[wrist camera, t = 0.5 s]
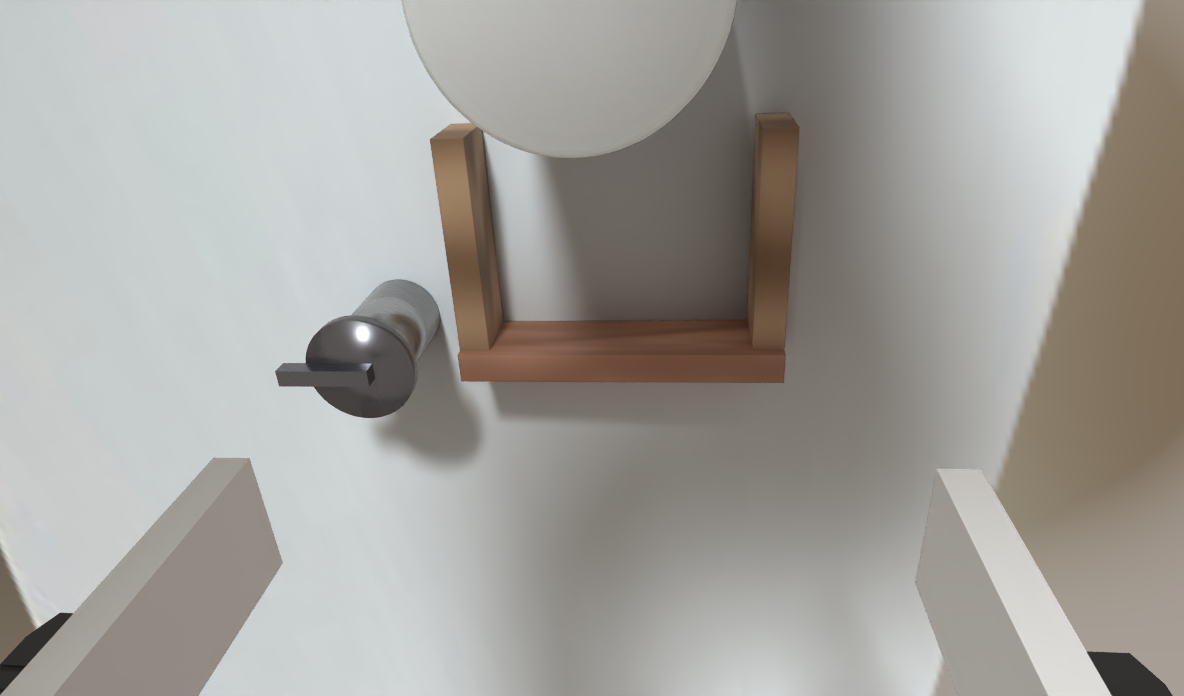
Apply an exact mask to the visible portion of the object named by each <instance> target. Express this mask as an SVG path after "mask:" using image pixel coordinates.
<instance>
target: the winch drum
mask: <svg viewBox="0 0 1184 696" xmlns="http://www.w3.org/2000/svg"><path fill="white" fill-rule="evenodd" d="M439 321H440V315H439V310H438V307H437V304H436V302H435V300H434V299H433V297H432V296H431V295H430V294H429V292H427V291H426V290H425V289H424V288H423V287H421V286H419V285H418V284H416V283H413V282H411V281H407V280H399V279H397V280H390V281H387V282H384V283H382V284H380V285H379V286H378V287H377V288H376V289H375V290H374V291H373V292H372V293H371V294H370V295H369V296H368V297H367V298H366V300H365V301H364V302H363V303H362V304H361V305H360V306H359V307H358V308H357V309H356V310H355V312H354V313H353V314H352V315H351V316H344V317H339V318H337V319H334V320H332V321H330V322H328V323H327V324H326V325H324V326H323V327H322V328H321V329H320V330H319V331H318V332H317V333H316V334H315V335H314V337H313V338H312V340H311V341H310V343H309V345H308V348H307V352H306V363H283V364H282V365H281V366H280V367H279V368H278V369H277V370H276V371H275V372H276V376H277V380H278V383H279V386H314V388H315V389H316V390H317V392H318V393H319V394H320V395H321V396H322V397H323V398H324V399H325V400H326V401H327V402H328V403H329V404H331V405H332V406H334V407H335V408H337V409H339V410H340V411H342V412H345V413H347V414H350V415H353V416H357V417H363V418H377V417H383V416H386V415H389V414H391V413H393V412H395V411H396V410H398V409H399V408H400V407H402V406H403V405H404V404H405V402H406V401H407V400H408V398H409V396H410V395H411V393H412V391H413V390H414V387H415V385H416V381H417V364H416V362H417V361H418V359H419V358H420V356H421V355H422V353H423V351H424V350H425V348H426V347H427V345H428V344H429V342H430V341H431V339H432V338H433V336H434V334H435V333H436V331H437V329H438V326H439Z"/></svg>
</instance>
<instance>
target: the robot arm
mask: <svg viewBox="0 0 1184 696" xmlns="http://www.w3.org/2000/svg"><path fill="white" fill-rule="evenodd" d="M282 563H283V562H282V559H281V556H280V553H279V550H278V546H277V543H276V540H275V537H274V534H273V531H272V528H271V524H270V521H269V518H268V515H267V512H266V509H265V506H264V502H263V499H262V496H261V493H260V490H259V487H258V483H257V480H256V477H255V474H254V471H253V468H252V465H251V461H250V458H213V459H212V460H211V461H210V462H209V463H208V465H207V466H206V467H205V468H204V469H203V470H202V471H201V472H200V473H199V475H198V476H197V477H196V478H195V479H194V480H193V481H192V482H191V483H190V485H189V486H188V487H187V488H186V489H185V490H184V491H183V492H182V493H181V495H180V496H179V497H178V498H177V499H176V500H175V501H174V502H173V503H172V505H171V506H170V507H169V508H168V509H167V510H166V511H165V512H164V513H163V515H162V516H161V517H160V518H159V519H158V520H157V521H156V522H155V523H154V525H153V526H152V527H151V528H150V529H149V530H148V531H147V532H146V533H145V535H144V536H143V537H142V538H141V539H140V540H139V541H138V542H137V543H136V545H135V546H134V547H133V548H132V549H131V550H130V551H129V552H128V553H127V555H126V556H125V557H124V558H123V559H122V560H121V561H120V562H119V563H118V565H117V566H116V567H115V568H114V569H113V570H112V571H111V572H110V573H109V575H108V576H107V577H106V578H105V579H104V580H103V581H102V582H101V583H100V585H99V586H98V587H97V588H96V589H95V590H94V591H93V592H92V593H91V595H90V596H89V597H88V598H87V599H86V600H85V601H84V602H83V603H82V605H81V606H80V607H79V608H78V609H77V610H76V611H75V612H74V613H59V614H58V615H56V616H55V617H54V618H52V619H51V620H49V621H48V622H46V623H45V624H44V625H42V626H41V627H39V628H38V629H36V630H35V631H34V632H32V633H31V634H29V635H28V636H27V637H25V639H24V640H23V641H22V642H21V643H20V644H19V645H18V646H17V647H16V648H15V649H14V650H13V651H12V652H11V653H10V654H9V656H8V657H7V658H6V659H5V660H4V661H3V662H2V663H1V664H0V696H198V695H199V694H200V692H201V691H202V689H203V687H204V686H205V684H206V683H207V681H208V680H209V678H210V676H211V675H212V673H213V672H214V670H215V669H216V667H217V665H218V664H219V662H220V661H221V659H222V658H223V656H224V654H225V653H226V651H227V650H228V648H229V647H230V645H231V643H232V642H233V640H234V639H235V637H236V636H237V634H238V632H239V631H240V629H241V628H242V626H243V625H244V623H245V621H246V620H247V618H248V617H249V615H250V614H251V612H252V610H253V609H254V607H255V606H256V604H257V603H258V601H259V599H260V598H261V596H262V595H263V593H264V592H265V590H266V588H267V587H268V585H269V584H270V582H271V581H272V579H273V577H274V576H275V574H276V573H277V571H278V570H279V568H280V566H281V565H282ZM915 583H916V586H917V588H918V591H919V594H920V596H921V599H922V602H923V604H924V607H925V610H926V613H927V615H928V618H929V621H930V623H931V626H932V629H933V631H934V634H935V637H936V640H937V642H938V645H939V648H940V650H941V653H942V656H943V658H944V661H945V664H946V667H947V669H948V672H949V674H950V677H951V680H952V683H953V685H954V688H955V691H956V694H957V696H1172V694H1171V693H1170V691H1169V690H1168V688H1167V687H1166V685H1165V684H1164V683H1163V682H1162V681H1161V680H1159V679H1158V678H1157V677H1156V676H1155V675H1154V674H1153V673H1152V672H1150V671H1149V670H1148V669H1147V668H1146V667H1145V666H1144V665H1142V664H1141V663H1140V662H1139V661H1138V660H1137V659H1136V658H1134V657H1133V656H1132V655H1131V654H1130V653H1110V652H1086V650H1085V648H1084V647H1083V645H1082V643H1081V641H1080V640H1079V638H1078V636H1077V635H1076V633H1075V631H1074V629H1073V628H1072V626H1071V624H1070V623H1069V621H1068V619H1067V617H1066V615H1065V614H1064V612H1063V610H1062V609H1061V607H1060V605H1059V603H1058V601H1057V600H1056V598H1055V596H1054V595H1053V593H1052V591H1051V589H1050V588H1049V586H1048V584H1047V583H1046V581H1045V579H1044V577H1043V576H1042V574H1041V572H1040V570H1039V568H1038V567H1037V565H1036V563H1035V562H1034V560H1033V558H1032V556H1031V555H1030V553H1029V551H1028V549H1027V548H1026V546H1025V544H1024V542H1023V541H1022V539H1021V537H1020V535H1019V534H1018V532H1017V530H1016V529H1015V527H1014V525H1013V523H1012V522H1011V520H1010V518H1009V516H1008V515H1007V513H1006V511H1005V509H1004V508H1003V506H1002V504H1001V502H1000V501H999V499H998V497H997V496H996V494H995V492H994V490H993V488H992V487H991V485H990V483H989V482H988V480H987V478H986V476H985V475H984V473H983V471H982V469H942V468H937V470H936V475H935V480H934V485H933V491H932V496H931V501H930V507H929V512H928V517H927V523H926V528H925V533H924V539H923V544H922V549H921V555H920V560H919V565H918V571H917V576H916V581H915Z"/></svg>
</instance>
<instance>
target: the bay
mask: <svg viewBox="0 0 1184 696" xmlns="http://www.w3.org/2000/svg"><path fill="white" fill-rule="evenodd" d="M798 142H799V126H798V125H797V123H796V122H795V121H794V119H793V118H792V116H791V115H790V114H789V113H765V114H756V118H755V141H754V164H753V187H752V211H751V234H750V257H749V280H748V304H747V320H678V321H503V314H502V305H501V297H500V288H499V279H498V270H497V261H496V252H495V243H494V234H493V226H492V217H491V208H490V199H489V190H488V181H487V172H486V163H485V155H484V146H483V137H482V130H481V129H480V128H478V127H477V126H475V125H474V124H473V123H472V124H450V125H449V126H448V127H446V128H445V129H443V130H442V131H441V132H439V133H438V134H437V135H435V136H434V137H432V138H431V139H430V143H431V150H432V157H433V164H434V171H435V178H436V185H437V192H438V199H439V206H440V213H441V220H442V227H443V234H444V241H445V248H446V255H447V262H448V269H449V276H450V283H451V290H452V297H453V304H454V311H455V318H456V325H457V332H458V339H459V346H460V352H459V354H458V361H459V368H460V375H461V381H489V382H733V383H784V370H785V356H786V355H785V351H784V347H785V332H786V318H787V303H788V288H789V274H790V259H791V244H792V230H793V215H794V200H795V186H796V171H797V157H798Z"/></svg>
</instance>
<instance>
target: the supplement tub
mask: <svg viewBox="0 0 1184 696" xmlns="http://www.w3.org/2000/svg"><path fill="white" fill-rule="evenodd" d="M736 3H737V0H402V6H403V12H404V15H405V19H406V22H407V26H408V29H409V33H410V36H411V38H412V41H413V44H414V46H415V48H416V50H417V53H418V55H419V57H420V59H421V61H422V63H423V65H424V67H425V68H426V70H427V72H428V74H429V75H430V77H431V79H432V80H433V81H434V83H435V84H436V86H437V87H438V89H439V90H440V91H441V93H442V94H443V95H444V96H445V97H446V99H447V100H448V101H449V102H450V103H451V104H452V105H453V106H454V107H455V108H456V109H457V110H458V111H459V112H460V113H461V114H462V115H463V116H464V117H465V118H467V119H468V120H469V121H470V122H471V123H473V124H474V125H475V126H477V127H478V128H480V129H481V130H482V131H484V132H485V133H487V134H488V135H490V136H492V137H494V138H495V139H497V140H499V141H501V142H503V143H505V144H507V145H510V146H512V147H514V148H517V149H520V150H523V151H526V152H530V153H534V154H538V155H543V156H549V157H556V158H583V157H591V156H599V155H603V154H607V153H610V152H614V151H618V150H620V149H623V148H625V147H628V146H630V145H633V144H635V143H637V142H639V141H641V140H643V139H645V138H646V137H648V136H650V135H651V134H653V133H654V132H656V131H657V130H659V129H660V128H662V127H663V126H664V125H666V124H667V123H668V122H669V121H670V120H672V119H673V118H674V117H675V116H676V115H677V114H678V113H679V112H680V111H681V110H682V109H683V108H684V107H685V106H686V105H687V104H688V103H689V102H690V101H691V100H692V98H693V97H694V96H695V95H696V94H697V92H698V91H699V90H700V88H701V87H702V86H703V85H704V83H705V82H706V80H707V79H708V77H709V75H710V74H711V72H712V70H713V69H714V67H715V65H716V63H717V61H718V59H719V57H720V55H721V53H722V51H723V49H724V46H725V44H726V41H727V39H728V36H729V33H730V29H731V26H732V22H733V18H734V14H735V10H736Z"/></svg>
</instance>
